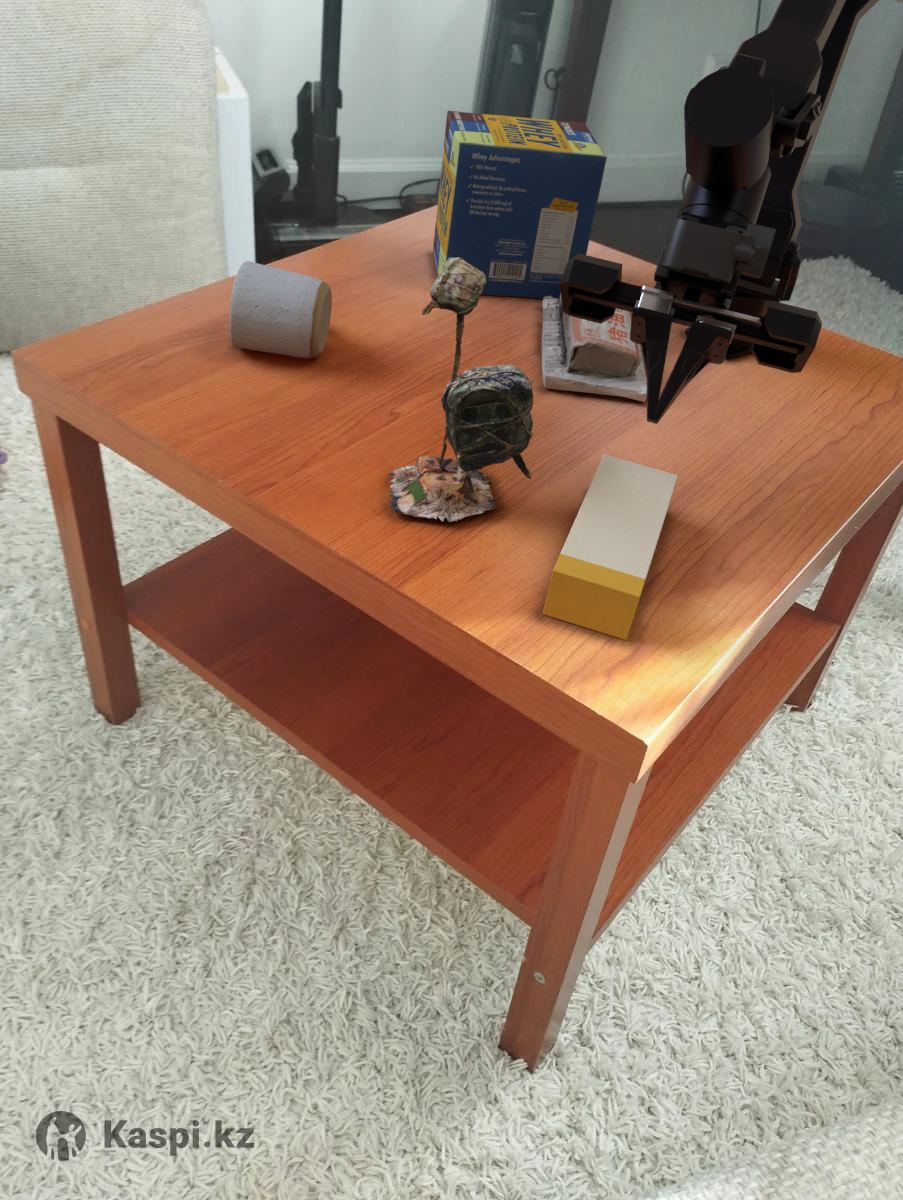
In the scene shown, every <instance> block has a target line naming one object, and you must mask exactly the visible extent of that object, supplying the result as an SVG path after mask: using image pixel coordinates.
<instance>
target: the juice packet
mask: <svg viewBox="0 0 903 1200" xmlns="http://www.w3.org/2000/svg"><path fill="white" fill-rule="evenodd" d="M678 478H679V475H678V474H676V473H672V472H668V471H665V470H662V469H658V468H654V467H650V466H647V465H643V464H640V463H637V462H633V461H629V460H626V459H623V458H618V457H615V456H612V455H608V454H603V455H602V457H601V460H600V461H599V464H598V467H597V469H596V471H595V473H594V476H593V478H592V480H591V482H590V485H589V487H588V489H587V492H586V494H585V495H584V499H583V501H582V502H581V506H580V507H579V510H578V512H577V514H576V517H575V518H574V521H573V524H572V526H571V528H570V530H569V532H568V535H567V537H566V539H565V542H564V544H563V547H562V549H561V551H560V554H559V556H558V558H557V560H556V562H555V565H554V567H553V569H552V572H551V577H550V581H549V585H548V589H547V592H546V593H547V594H546V598H545V602H544V606H543V610H542V615H544V616H547V617H550V618H554V619H557V620H561V621H562V622H563V621H564V622H567V623H569V624H573V625H576V626H579V627H583V628H586V629H589V630H592V631H596V632H599V633H602V634H605V635H608V636H611V637H615V638H618V639H620V640H624V641H627V640H628V637H629V635H630V631H631V627H632V624H633V622H634V618H635V615H636V611H637V609H638V605H639V602H640V599H641V596H642V593H643V591H644V588H645V587H644V586H645V583H646V580H647V577H648V574H649V570H650V567H651V564H652V561H653V557H654V554H655V552H656V548H657V545H658V542H659V538H660V535H661V532H662V529H663V525H664V523H665V519H666V516H667V513H668V509H669V507H670V504H671V501H672V500H671V499H672V497H673V494H674V490H675V488H676V483H677V481H678Z"/></svg>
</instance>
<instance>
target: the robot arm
mask: <svg viewBox="0 0 903 1200" xmlns="http://www.w3.org/2000/svg"><path fill="white" fill-rule="evenodd" d="M879 2H880V0H780V2H779V4H778V6H777V8H776V10H775V12H774V15H773V16H772V19H771V20H770V21H769V24H768V26H767V28H766V29H764V30H762V31H760V32H758V33H757V34H754V35H753V36H752V37H749V38H748V39H746V40H744V41H743V42H742V43H741V44H740V46H739V47H738V49H737V50H736V52H735V54H734V56H732V58H731V61H730V62H729V64H728V66H727V68H723V69H722V68H721V69H718V70H716V71H714V72H712V73H709V74H707V75H706V76H704V77H703V78H702V79H701V80H699V81H698V82H697V83H696V84H695V85H694V86H693V87H692V88H691V89H690V90H689V92H688V94H687V96H686V99H685V101H684V104H683V105H684V106H683V120H684V121H683V125H684V126H683V127H684V153H685V155H684V156H685V168H686V173H687V175H689V178H688V182H687V185H686V187H685V191H684V194H683V198H682V200H681V203H680V207H679V210H678V212H677V216H676V218H674V219H673V222H672V226H671V229H670V233H669V236H668V238H667V239H666V241H665V242H664V243H663V247H662V248H661V249H662V250H661V253H660V255H659V259H658V262H657V265H656V268H655V271H654V276H653V281H654V282H655V285H654V287H652V286H648V285H637V284H634V283H633V284H632V283H629V282H625V281H622V279H623V263H620V262H615V261H612V260H607V259H604V258H599V257H596V256H591V255H587V254H586V255H584V254H579V253H578V254H577V255H575V256H574V257H573V258H571V259H570V260H569V261H568V262H567V264H566V267H565V270H564V273H563V276H562V279H561V282H560V290H561V300H562V311H563V312H565V313H566V314H568V315H569V316H573V317H576V318H580V319H584V320H588V321H592V322H596V323H600V324H601V323H603V322H605V321H607V320H609V319H610V318H612V317H613V316H614V313H615V310H616V308H617V309H621V310H625V311H629V312H633V313H632V317H631V330H630V340H631V341H632V342H634V343H637V344H639V345H640V346H641V351H642V357H643V363H644V370H645V376H646V379H647V398H646V422H648V423H651V424H655V425H657V424H659V423H660V421H661V420H662V418H663V417H664V416H665V414H666V413H667V412H668V410H669V409H670V408H671V407H672V405H673V403H675V401H676V400H677V398H678V397H679V396H680V394H681V393H682V392H683V390H684V389H685V388H686V387H687V386H688V384H689V383H690V382H692V381H693V379H695V377H696V376H698V374H700V373H701V371H702V370H703V369H704V368H705V367H707V366H708V365H709V364H714V365H722V364H723V363H724V361H725V359H727V360H731V359H735V358H739V357H743V356H746V355H750V354H752V356H753V358H754V359H755V361H756V363H757V364H758V365H760V366H764V367H767V368H771V369H775V370H780V371H783V372H787V373H790V374H794V373H795V374H796V373H801V372H802V371H803V369H804V368H805V366H806V364H807V362H808V361H809V359H810V357H811V355H812V354H813V352H814V351H815V349H816V346H817V343H818V339H819V337H820V333H821V329H822V326H823V321H822V319H821V317H820V315H819V313H818V311H815V310H812V309H807V308H803V307H800V306H794V305H791V304H787V303H783V302H789V301H790V300H791V299H792V295H793V292H794V290H795V287H796V284H797V280H798V277H799V273H800V269H801V265H802V258H801V257H800V253H801V252H800V249H801V243H800V242H797V239H798V236H799V233H800V231H801V228H802V216H801V210H800V205H799V199H798V189H799V186H800V183H801V180H802V177H803V175H804V172H805V170H806V166H807V164H808V161H809V159H810V156H811V152H812V151H813V148H814V144H815V141H816V139H817V136H818V133H819V131H820V128H821V126H822V124H823V123H822V122H823V120H824V118H825V115H826V111H827V109H828V107H829V103H830V101H831V98H832V95H833V92H834V89H835V87H836V84H837V81H838V79H839V76H840V73H841V70H842V68H843V65H844V62H845V59H846V57H847V54H848V51H849V49H850V46H851V44H852V41H853V38H854V34H855V32H856V30H857V27H858V24H859V22H860V20H861V19H862V18H863V17H864V16H865V15H866V14H867V13H868V12H869V11H870V10H871V9H872V8H873V7H874V6H875V5H876V4H877V3H879ZM777 279H778V280H777ZM673 324H676V325H680V326H684V327H687V328H685V331H684V335H686V337H685V341H684V343H683V346H682V347H681V350H680V353H679V354H678V357H677V359H676V361H675V363H674V365H673V367H672V370H671V372H670V374H669V376H668V379H667V380H666V383H665V385H664V387H663V389H662V391H661V387H662V384H663V383H662V382H663V377H664V371H665V365H666V360H667V359H666V358H667V353H668V346H669V341H670V336H671V330H672V325H673Z"/></svg>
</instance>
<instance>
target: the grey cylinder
mask: <svg viewBox="0 0 903 1200" xmlns="http://www.w3.org/2000/svg"><path fill="white" fill-rule="evenodd" d="M332 295H333V294H332V289H331V287H330V285H329V283H327V282H325V281H323V280H321V279H319V278H317V277H314V276H311V275H307V274H303V273H298V272H293V271H290V270H286V269H283V268H279V267H278V268H277V267H274V266H269V265H266V264H261V263H257V262H254V261H250V260H248V261H247V260H246V261H243V263H241V265H240V266H239V269H238V271H237V273H236V275H235V278H234V281H233V285H232V292H231V296H230V305H229V307H230V308H229V325H228V326H229V327H228V328H229V335H230V342H231V344H232V345H233V346H234V347H235V348H237V349H243V350H251V351H256V352H262V353H269V354H275V355H283V356H288V357H293V358H299V359H300V358H301V359H314V358H317V357H318V356H320V355H321V354H322V352H323V350H324V348H325V345H326V342H327V337H328V334H329V329H330V325H331V324H330V323H331V315H332V304H333V296H332Z"/></svg>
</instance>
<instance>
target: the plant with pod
mask: <svg viewBox="0 0 903 1200" xmlns="http://www.w3.org/2000/svg"><path fill="white" fill-rule="evenodd" d="M485 284H486V276H485V274H484V273H483V272H481V271H480V270H478V269H477V268H476V267H473V266H471V265H470V264H469V263H467V262H466V261H465V260H463V259H462V258H459V257H456V258H453V257H450V258H448V259H447V261H446V262H445V265H444V267H443V270H442V273H441V274H440V275H439V276H438V275H437V277H436V278H435V279H434V281H433V283H432V285H431V288H430V289H429V295H430V298H431V300H430V301H429V302H427V303H426V306H425V307H424V308H423V309H422V311H421V314H422V315H423V316H427V315H429V314H430V313H431V311H432V310H433V309H440V310H447V311H451V312H453V313H454V314H456V323H455V324H456V328H455V331H456V333H455V342H456V343H455V349H454V350H455V351H454V352H455V353H454V361H453V367H452V373H451V375H450V376H451V377H450V381H448V383H447V384H446V385H445V388H444V391H443V393H442V394H443V395H442V396H441V398H440V399H441V404H442V406H441V407H442V409H443V411H444V413H445V419H444V423H445V428H444V437H443V442H442V450H441V453H440V456H435V455H421V456H418V457H417V458H416V462H415V463H414V464H413V465H407V464H405V467H403V466H401V467H400V468H394V469H393V470H392V472H389V473H387V476H389V477H391V478H392V479H391V480H390V481H388V484H389V483H392V484H391V485H390V488H391V490H388V491H387V492H388V493H389V494H390V496H389V497H391V498H390V501H388V503H389V504H390V505H388V506H387V507H388V508H389V509H391V510H393V511H394V513H398V514H403V515H407V516H413V517H414V518H427V519H435V520H437V519H438V518H439V520H440V521H441V522H444V521H445V519H446V520H447V522H448V523H454V522H457V521H459V520H462V519H464V518H467V517H471V516H474V515H482V514H484V513H485V511H491V510H492V511H493V510H497V509H498V504H497V503H496V502H495V500H494V496H493V495H492V494H493V492H492V491H491V488H490V487H491V486H490V485H489V482H490V480H489V479H487V478H488V476H486V475H485V474H484V473H483V471H482V470H483V469H484V468H486V467H489V466H492V465H497V464H498V465H499V464H504V463H505V462H507V461H509V460H511V459H512V460H513V462H514V463H515V465H516V466H517V468H518V469H520V471H521V473H523V475H524V476H525V477H526V478H527V479H528V480H530V479H532V471H531V470H530V468H529V467H528V466H527V464H526V461H525V460H524V459H523V456H522V453H524V451H525V450H526V449H527V448H528V446H529V444H530V440H532V438H533V432H532V431H533V427H534V425H533V424H534V421H533V415H532V413H531V411H532V410H533V405H534V393H533V386H532V384H534V383H535V380H531V381H530V379H529V377H528V376H527V375H526V374H525V372H524V370H522V369H520V368H519V367H517V366H516V365H513V364H511V363H508V364H507V363H506V364H494V365H483V366H474V367H473V368H471V369H466V370H463V372H462V373H461V374H459V375H458V372H459V370H460V364H461V356H462V347H461V345H462V343H463V341H462V338H463V334H464V327H465V316H468V315H470V314H471V313H472V312H473V311H474V309H475V308H476V307H477V306H478V304H479V302H480V297H481V295H482V294H481V293H482V291H483V290H484V287H485ZM447 442H448V443H449V445H450V447H451V448H452V450H453V454H454V456H455V458H456V460H454V459H453V458H450V457H445V455H446V451H447V448H448V447H447V446H448V445H447Z"/></svg>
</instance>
